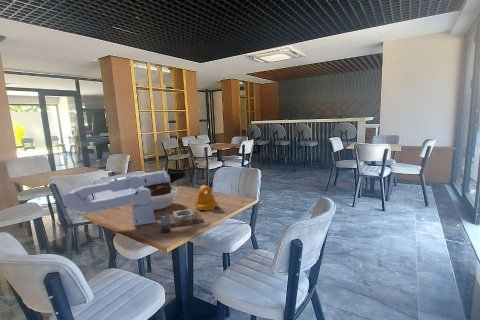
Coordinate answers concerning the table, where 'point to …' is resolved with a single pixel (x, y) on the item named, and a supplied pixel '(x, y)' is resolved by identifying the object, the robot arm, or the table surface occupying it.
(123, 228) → the table surface
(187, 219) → the nut plate
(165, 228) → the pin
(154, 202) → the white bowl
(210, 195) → the bracket
